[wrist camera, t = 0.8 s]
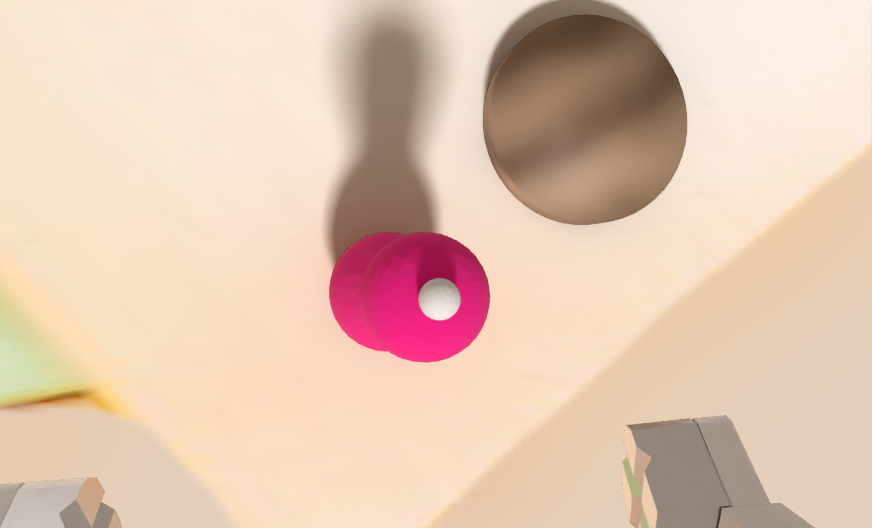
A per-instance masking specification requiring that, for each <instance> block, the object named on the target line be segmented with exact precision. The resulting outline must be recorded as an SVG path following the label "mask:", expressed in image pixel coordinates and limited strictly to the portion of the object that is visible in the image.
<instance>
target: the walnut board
mask: <svg viewBox="0 0 872 528" xmlns="http://www.w3.org/2000/svg"><path fill="white" fill-rule="evenodd" d="M483 129H484V137H485V143H486V147H487V151H488V154H489V157H490V159H491V162H492V164H493V166H494V168H495V170H496V172H497V174H498V176H499V178H500V179H501V180H502V182H503V183H504V185H505V186H506V187H507V189H508V190H509V191H510V192H511V193H512V194H513V195H514V196H515V197H516V198H517V199H518V200H519V201H520V202H522V203H523V204H524V205H525V206H526V207H528V208H530V209H531V210H533V211H534V212H536V213H538V214H540V215H542V216H544V217H546V218H548V219H551V220H555V221H558V222H561V223H567V224H573V225H589V224H598V223H604V222H610V221H614V220H618V219H622V218H624V217H627V216H629V215H632V214H634V213H636V212H637V211H639V210H641V209H642V208H644V207H646V206H647V205H648V204H649V203H651V202H652V201H653V200H654V199H656V197H657V196H658V195H659V194H660V193H661V192H662V191H663V190H664V189H665V188H666V186H667V185H668V183H669V182H670V181H671V179H672V177H673V176H674V174H675V172H676V170H677V168H678V166H679V163H680V161H681V158H682V155H683V151H684V147H685V143H686V135H687V112H686V104H685V99H684V95H683V91H682V88H681V86H680V83H679V80H678V78H677V76H676V74H675V72H674V70H673V68H672V66H671V65H670V63H669V62H668V60H667V59H666V57H665V56H664V54H663V53H662V52H661V51H660V50H659V49H658V47H657V46H656V45H655V44H654V43H652V42H651V41H650V40H649V39H648V38H647V37H646V36H644V35H643V34H642V33H640V32H639V31H637V30H636V29H634V28H632V27H630V26H628V25H627V24H625V23H622V22H620V21H617V20H614V19H611V18H607V17H602V16H596V15H573V16H568V17H563V18H559V19H556V20H554V21H551V22H548V23H546V24H544V25H542V26H540V27H539V28H537V29H535V30H534V31H533V32H531V33H530V34H528V35H527V36H526V37H525V38H524V39H523V40H522V41H521V42H520V43H519V44H517V45H516V46H515V47H514V48H513V49H512V50H511V51H510V52H509V53H508V54H507V56H506V57H505V58H504V59H503V61H502V62H501V63H500V65H499V66H498V68H497V70H496V72H495V73H494V75H493V77H492V80H491V82H490V85H489V87H488V91H487V94H486V98H485V104H484V111H483Z"/></svg>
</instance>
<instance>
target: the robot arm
mask: <svg viewBox="0 0 872 528" xmlns="http://www.w3.org/2000/svg"><path fill="white" fill-rule="evenodd" d="M623 442H624V446H625V449H626V453H627V457H626V458H625V459H624V461H623V462H622V486H623V495H624V500H625V505H626V509H627V513H628V517H629V521H630V523H631V524H632V525H633V526H634V527H635V528H814V527H813V526H812V525H810V524H809V523H807V522H806V521H805V520H803V519H802V518H801V517H799V516H798V515H797V514H795V513H794V512H792V511H791V510H790V509H788V508H787V507H785V506H784V505H783V504H781V503H770V501H769V499H768V497H767V495H766V493H765V491H764V489H763V487H762V485H761V482H760V480H759V478H758V476H757V474H756V472H755V470H754V468H753V465H752V463H751V461H750V459H749V457H748V455H747V453H746V450H745V448H744V446H743V444H742V442H741V440H740V438H739V436H738V433H737V431H736V429H735V427H734V425H733V423H732V421H731V420H730V419H729V418H728V417H727V416H726V415H724V416H715V417H704V418H694V419H679V420H670V421H661V422H652V423H643V424H634V425H626V428H625V430H624V441H623ZM104 492H105V491H104V489H103V488H102V486H101V484H100V483H99V481H98V479H97V478H75V479H61V480H46V481H31V482H21V483H9V484H0V528H121V523H120V519H119V517H118V515H117V513H116V511H115V510H114V509H113V508H111V507H109V506H107V505H106V504H104V503H102V502H101V501H102V498H103V495H104Z"/></svg>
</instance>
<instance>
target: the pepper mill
mask: <svg viewBox="0 0 872 528" xmlns="http://www.w3.org/2000/svg"><path fill="white" fill-rule="evenodd" d="M329 298H330V304H331V308H332V311H333V314H334V317H335V319H336V321H337V322H338V324H339V325H340V327H341V328H342V330H343V331H344V332H345V333H346V334H347V335H348V336H349V337H350V338H352V339H353V340H354V341H356V342H357V343H358V344H361V345H363V346H365V347H367V348H370V349H373V350H378V351H389V352H390V353H392V354H394V355H396V356H398V357H400V358H402V359H406V360H410V361H414V362H436V361H440V360H444V359H447V358H450V357H452V356H454V355H456V354H458V353H459V352H461V351H462V350H464V349H465V348H466V347H468V346H469V345H470V344H471V343H472V342H473V341H474V340H475V338H476V337H477V336H478V334H479V333H480V331H481V329H482V328H483V325H484V323H485V320H486V318H487V314H488V310H489V303H490V292H489V284H488V279H487V277H486V274H485V272H484V269H483V267H482V265H481V264H480V262H479V261H478V259H477V257H476V256H475V255H474V254H473V253H472V252H471V251H470V250H469V249H468V248H467V247H465V246H464V245H463V244H461V243H460V242H458V241H457V240H454V239H452V238H450V237H448V236H445V235H442V234H437V233H432V232H421V233H412V234H409V235H404V234H400V233H391V232H384V233H377V234H373V235H370V236H367V237H365V238H363V239H361V240H359V241H357V242H356V243H354V244H353V245H352V246H350V247H349V248H348V249H347V250H346V251H345V252H344V253H343V255H342V256H341V257H340V259H339V260H338V262H337V264H336V266H335V268H334V270H333V273H332V276H331V280H330V287H329Z"/></svg>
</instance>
